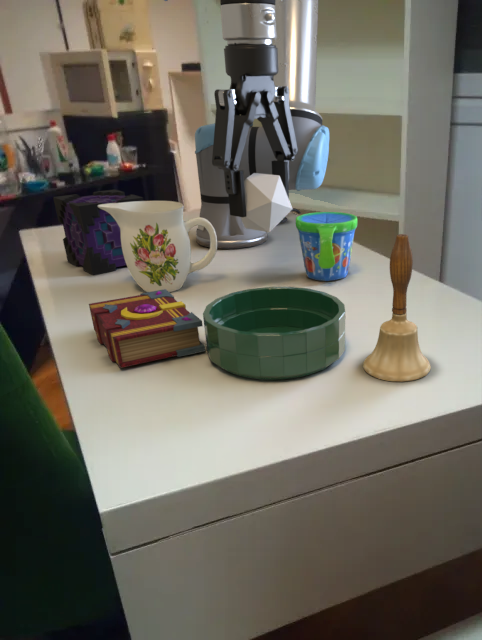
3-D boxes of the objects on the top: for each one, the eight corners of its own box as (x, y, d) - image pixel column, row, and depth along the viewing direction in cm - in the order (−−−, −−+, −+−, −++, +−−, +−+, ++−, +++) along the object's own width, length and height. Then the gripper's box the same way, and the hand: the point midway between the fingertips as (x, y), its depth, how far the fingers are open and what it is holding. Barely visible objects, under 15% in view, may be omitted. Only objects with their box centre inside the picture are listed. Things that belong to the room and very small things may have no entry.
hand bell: (383, 387, 69) (390, 247, 60) (351, 360, 75) (354, 230, 67) (443, 374, 71) (458, 239, 63) (408, 349, 78) (417, 223, 70)
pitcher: (224, 292, 99) (216, 205, 92) (112, 301, 95) (94, 212, 88) (218, 273, 108) (210, 193, 101) (115, 281, 104) (99, 199, 97)
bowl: (268, 319, 88) (266, 279, 85) (369, 345, 79) (371, 302, 76) (179, 359, 76) (173, 315, 73) (288, 396, 67) (285, 347, 64)
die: (303, 231, 96) (288, 173, 97) (283, 212, 88) (267, 149, 88) (256, 249, 99) (242, 193, 100) (233, 233, 90) (217, 171, 91)
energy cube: (125, 251, 122) (114, 189, 116) (153, 262, 114) (142, 197, 108) (67, 262, 115) (53, 197, 109) (92, 275, 108) (78, 206, 101)
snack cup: (304, 263, 113) (302, 207, 108) (359, 264, 112) (360, 208, 107) (290, 289, 100) (288, 226, 95) (352, 290, 99) (354, 228, 93)
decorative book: (119, 372, 72) (111, 334, 70) (90, 330, 85) (83, 296, 82) (206, 353, 77) (202, 316, 75) (168, 315, 89) (163, 283, 87)
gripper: (213, 41, 73) (229, 226, 85) (319, 43, 89) (320, 200, 100) (171, 42, 77) (192, 220, 89) (280, 44, 92) (286, 195, 104)
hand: (260, 209), depth 94 cm, fingers closed on die, 10 cm apart
